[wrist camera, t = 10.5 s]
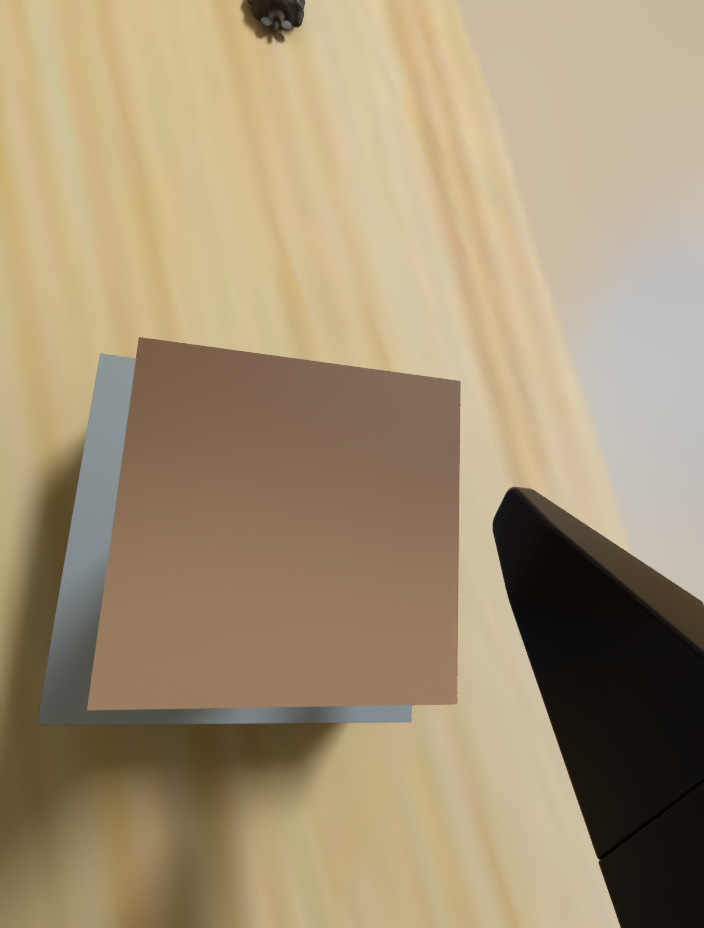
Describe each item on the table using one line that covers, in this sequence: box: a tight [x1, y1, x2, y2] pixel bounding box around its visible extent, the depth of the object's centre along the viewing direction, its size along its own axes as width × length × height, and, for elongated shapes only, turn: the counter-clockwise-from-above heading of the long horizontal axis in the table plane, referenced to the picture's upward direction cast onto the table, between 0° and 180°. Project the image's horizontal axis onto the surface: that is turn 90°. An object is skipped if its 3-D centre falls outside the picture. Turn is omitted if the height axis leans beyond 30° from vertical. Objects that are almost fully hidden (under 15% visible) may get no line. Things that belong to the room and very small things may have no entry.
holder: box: [37, 354, 412, 725], centre depth 15 cm, size 9×9×4 cm
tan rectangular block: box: [87, 337, 460, 710], centre depth 11 cm, size 3×3×13 cm
